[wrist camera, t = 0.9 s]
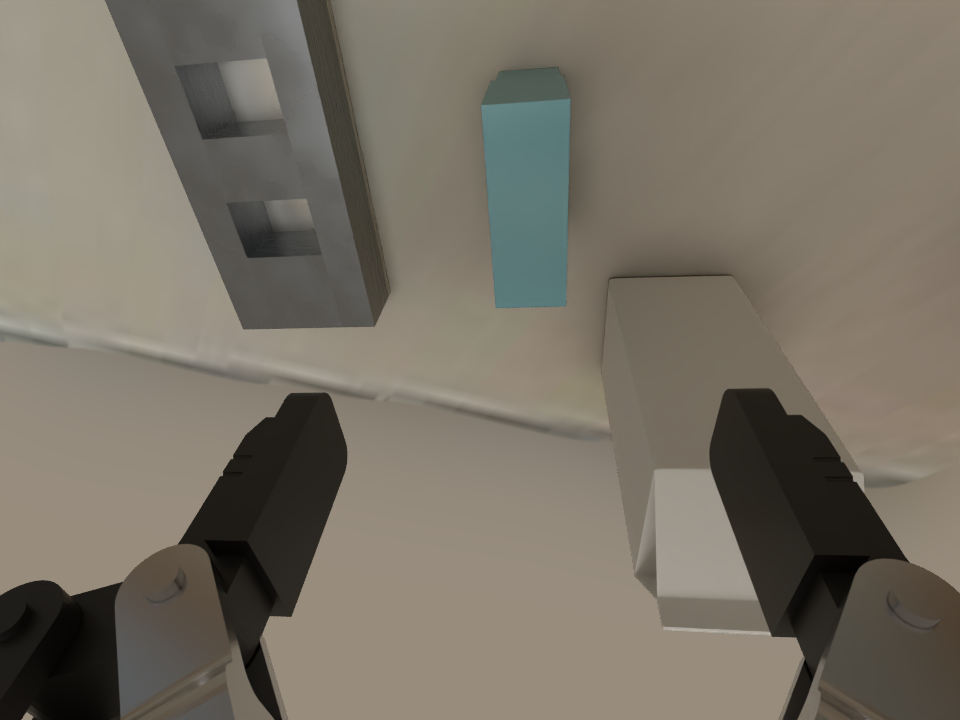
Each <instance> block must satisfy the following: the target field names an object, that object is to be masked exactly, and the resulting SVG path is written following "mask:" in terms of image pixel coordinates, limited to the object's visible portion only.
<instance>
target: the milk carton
mask: <svg viewBox="0 0 960 720" xmlns="http://www.w3.org/2000/svg"><path fill="white" fill-rule="evenodd" d="M601 374H602V380H603V386H604V392H605V398H606V404H607V410H608V416H609V422H610V428H611V435H612V441H613V446H614V453H615V459H616V464H617V471H618V477H619V483H620V489H621V495H622V501H623V507H624V513H625V519H626V525H627V532H628V538H629V544H630V550H631V556H632V562H633V568H634V575H635V577H636V578H637V579H638V580H639V581H640V582H641V583H642V584H643V585H644V586H645V588H646V589H647V590H648V591H649V592H650V593H651V594H652V595H653V596H654V597H655V598H656V599H657V603H658V609H659V614H660V619H661V623H662V628H663V629H665V630H676V631H678V630H679V631H697V632H716V633H736V634H737V633H738V634H756V635H757V634H758V635H771V633H770V631H769V628H768V625H767V622H766V620H765V617H764V614H763V612H762V609H761V606H760V603H759V601H758V598H757V595H756V592H755V590H754V587H753V584H752V582H751V579H750V576H749V573H748V571H747V568H746V565H745V563H744V560H743V557H742V554H741V552H740V549H739V546H738V544H737V541H736V538H735V535H734V533H733V530H732V527H731V524H730V522H729V519H728V516H727V514H726V511H725V508H724V505H723V503H722V500H721V497H720V495H719V492H718V489H717V486H716V484H715V481H714V478H713V475H712V472H711V467H710V459H709V449H710V442H711V438H712V435H713V431H714V427H715V423H716V419H717V415H718V412H719V408H720V404H721V400H722V396H723V394H724V392H725V391H726V390H727V389H739V388H769V389H771V390H772V391H773V392H774V393H775V394H776V396H777V398H778V399H779V401H780V403H781V404H782V406H783V408H784V409H785V411H786V413H787V415H802V416H804V417H805V418H806V419H807V420H809V421H810V422H811V423H812V424H814V425H815V426H816V427H817V428H819V429H820V430H821V431H822V432H824V433H825V434H826V435H827V437H828V438H829V440H830V441H831V443H832V445H833V446H834V448H835V449H836V451H837V452H838V454H839V455H840V457H841V462H844V463H845V465H846V466H847V468H848V469H849V471H850V472H851V474H852V475H853V481H854V482H857V483H858V485H859V486H860V488H861V489H862V491H863V492H864V475H863V473H862V472H861V471H860V469H859V468H858V466H857V465H856V463H855V462H854V460H853V459H852V457H851V456H850V454H849V452H848V451H847V449H846V448H845V446H844V445H843V443H842V442H841V440H840V439H839V437H838V436H837V434H836V433H835V431H834V430H833V428H832V426H831V425H830V423H829V422H828V420H827V419H826V417H825V416H824V414H823V413H822V411H821V410H820V408H819V407H818V405H817V404H816V402H815V401H814V399H813V397H812V396H811V394H810V393H809V391H808V390H807V388H806V387H805V385H804V384H803V382H802V381H801V379H800V378H799V376H798V375H797V373H796V371H795V370H794V368H793V367H792V365H791V364H790V362H789V361H788V359H787V358H786V356H785V355H784V353H783V352H782V350H781V349H780V347H779V345H778V344H777V342H776V341H775V339H774V338H773V336H772V335H771V333H770V332H769V330H768V329H767V327H766V326H765V324H764V323H763V321H762V319H761V318H760V316H759V315H758V313H757V312H756V310H755V309H754V307H753V306H752V304H751V303H750V301H749V300H748V298H747V297H746V295H745V293H744V292H743V290H742V289H741V287H740V286H739V284H738V283H737V281H736V280H735V278H734V277H732V276H689V277H649V278H615V279H610V280H609V286H608V298H607V310H606V322H605V334H604V346H603V358H602V370H601Z"/></svg>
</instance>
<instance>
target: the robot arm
mask: <svg viewBox="0 0 960 720" xmlns="http://www.w3.org/2000/svg"><path fill="white" fill-rule="evenodd" d="M233 457H234V458H233V459H231V460H230V461H229V463H228V465H227V466H226V468H225V469H224V471H223V476H220V477H219V479H218V481H217V482H216V484H215V486H214V487H213V489H212V491H211V492H210V494H209V495H208V497H207V499H206V500H205V502H204V503H203V505H202V507H201V509H200V510H199V512H198V513H197V515H196V517H195V518H194V520H193V521H192V523H191V525H190V526H189V528H188V529H187V531H186V533H185V534H184V536H183V537H182V539H181V541H180V542H179V543H178V545H174V546H171V547H167V548H165V549H163V550H160V551H158V552H156V553H155V554H153V555H151V556H150V557H148V558H147V559H145V560H144V561H142V562H141V563H140V564H139V565H138V566H137V567H135V569H133V571H132V572H131V573H130V574H129V575H128V576H127V577H126V579H125V580H124V582H121V583H117V584H114V585H110V586H106V587H103V588H99V589H96V590H92V591H88V592H84V593H81V594H77V595H74V596H69V595H68V594H67V593H66V592H65V591H64V590H63V589H62V588H61V587H60V586H59V585H58V584H56V583H54V582H51V581H44V580H42V581H34V582H29V583H26V584H23V585H20V586H18V587H15V588H13V589H11V590H9V591H7V592H6V593H4V594H2V595H0V720H21V719H22V718H23V716H24V714H25V713H26V712H28V713H29V714H30V715H32V716H33V719H32V720H288V717H287V714H286V710H285V707H284V703H283V700H282V697H281V693H280V690H279V686H278V683H277V680H276V676H275V673H274V669H273V666H272V663H271V659H270V656H269V653H268V649H267V646H266V642H265V639H264V637H263V635H262V633H263V630H264V628H265V626H266V623H267V621H268V618H269V616H286V617H291V616H292V614H293V611H294V608H295V605H296V603H297V600H298V597H299V595H300V592H301V589H302V587H303V584H304V581H305V578H306V575H307V573H308V570H309V568H310V565H311V562H312V560H313V557H314V554H315V552H316V549H317V546H318V543H319V541H320V538H321V535H322V533H323V530H324V527H325V525H326V522H327V519H328V516H329V514H330V511H331V508H332V506H333V502H334V500H335V497H336V495H337V492H338V489H339V487H340V484H341V481H342V479H343V476H344V473H345V469H346V465H347V446H346V442H345V439H344V436H343V432H342V429H341V427H340V423H339V420H338V417H337V414H336V412H335V409H334V405H333V402H332V399H331V397H330V396H329V394H327V393H291V394H289V395H288V396H287V397H286V399H285V400H284V402H283V404H282V405H281V407H280V409H279V411H278V412H277V414H276V416H275V417H269V418H268V417H266V418H265V419H264V420H262V421H261V422H260V423H259V424H258V425H257V426H255V427H254V428H253V429H252V430H251V431H250V432H249V433H247V434H246V435H245V437H244V439H243V440H242V442H241V443H240V445H239V447H238V448H237V450H236V452H235V453H234V455H233ZM709 459H710V467H711V472H712V475H713V478H714V481H715V484H716V486H717V489H718V492H719V495H720V497H721V500H722V503H723V505H724V508H725V511H726V514H727V516H728V519H729V522H730V524H731V527H732V530H733V533H734V535H735V538H736V541H737V544H738V546H739V549H740V552H741V554H742V557H743V560H744V563H745V565H746V568H747V571H748V573H749V576H750V579H751V582H752V584H753V587H754V590H755V592H756V595H757V598H758V601H759V603H760V606H761V609H762V612H763V614H764V617H765V620H766V622H767V625H768V628H769V631H770V633H771V636H772V637H796V638H797V640H798V642H799V645H800V647H801V650H802V652H803V655H804V656H803V658H802V660H801V662H800V664H799V667H798V669H797V672H796V674H795V677H794V680H793V682H792V685H791V688H790V690H789V693H788V696H787V698H786V701H785V704H784V706H783V709H782V712H781V714H780V717H779V720H960V593H959V592H958V591H957V590H956V589H955V588H954V587H952V586H951V585H950V584H949V583H947V582H946V581H945V580H943V579H942V578H940V577H939V576H937V575H935V574H934V573H932V572H930V571H928V570H926V569H924V568H922V567H920V566H917V565H915V564H912V563H910V562H909V561H908V560H907V558H906V557H905V556H904V554H903V553H902V551H901V550H900V548H899V547H898V545H897V544H896V542H895V540H894V539H893V537H892V536H891V534H890V533H889V531H888V530H887V528H886V526H885V525H884V523H883V522H882V520H881V519H880V517H879V516H878V514H877V513H876V511H875V509H874V508H873V507H872V505H871V503H870V502H869V500H868V499H867V497H866V496H865V494H864V492H863V491H862V489H861V488H860V486H859V485H858V483H857V482H854V481H853V475H852V474H851V472H850V471H849V469H848V468H847V466H846V465H845V463H844V462H841V457H840V455H839V454H838V452H837V451H836V449H835V448H834V446H833V445H832V443H831V441H830V440H829V438H828V437H827V435H826V434H825V433H824V432H822V431H821V430H820V429H819V428H817V427H816V426H815V425H814V424H812V423H811V422H810V421H809V420H807V419H806V418H805V417H804V416H802V415H787V413H786V411H785V409H784V408H783V406H782V404H781V403H780V401H779V399H778V398H777V396H776V394H775V393H774V392H773V391H772V390H771V389H769V388H739V389H727V390H726V391H725V392H724V394H723V396H722V400H721V404H720V408H719V412H718V415H717V419H716V423H715V427H714V431H713V435H712V438H711V442H710V449H709Z"/></svg>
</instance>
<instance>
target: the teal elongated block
mask: <svg viewBox="0 0 960 720" xmlns="http://www.w3.org/2000/svg"><path fill="white" fill-rule="evenodd" d="M481 111H482V125H483V139H484V153H485V166H486V180H487V194H488V208H489V222H490V236H491V249H492V263H493V277H494V291H495V305H496V308H519V307H559V306H566V286H567V240H568V193H569V146H570V95H569V92H568V88H567V85H566V81H565V77H564V75H563V76H560V73H559V69H558V67H553V68H541V69H528V70H515V71H503V72H499V74H498V76H497V79H496V81H491V83H490V85H489V88H488V90H487V92H486V95H485V97H484V100H483V102H482V104H481Z"/></svg>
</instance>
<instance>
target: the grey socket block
mask: <svg viewBox="0 0 960 720" xmlns="http://www.w3.org/2000/svg"><path fill="white" fill-rule="evenodd" d="M105 1H106V4H107V6H108V9H109V11H110V13H111V16H112V18H113V20H114V23H115V25H116V28H117V30H118V32H119V35H120V37H121V39H122V42H123V44H124V47H125V49H126V51H127V54H128V56H129V58H130V61H131V63H132V66H133V68H134V70H135V73H136V75H137V77H138V80H139V82H140V85H141V87H142V89H143V92H144V94H145V96H146V99H147V101H148V104H149V106H150V108H151V111H152V113H153V116H154V118H155V120H156V123H157V125H158V127H159V130H160V132H161V135H162V137H163V139H164V142H165V144H166V146H167V149H168V151H169V154H170V156H171V158H172V161H173V163H174V165H175V168H176V170H177V173H178V175H179V177H180V180H181V182H182V184H183V187H184V189H185V192H186V194H187V196H188V199H189V201H190V203H191V206H192V208H193V211H194V213H195V215H196V218H197V220H198V223H199V225H200V227H201V230H202V232H203V234H204V237H205V239H206V242H207V244H208V246H209V249H210V251H211V253H212V256H213V258H214V261H215V263H216V265H217V268H218V270H219V272H220V275H221V277H222V280H223V282H224V284H225V287H226V289H227V291H228V294H229V296H230V299H231V301H232V303H233V306H234V308H235V310H236V313H237V315H238V318H239V320H240V322H241V325H242V327H243V329H283V328H329V327H375V325H376V323H377V321H378V318H379V316H380V314H381V312H382V310H383V307H384V305H385V303H386V301H387V299H388V296H389V294H390V287H389V282H388V278H387V273H386V268H385V263H384V258H383V254H382V249H381V244H380V239H379V234H378V230H377V225H376V220H375V215H374V210H373V206H372V201H371V196H370V191H369V186H368V182H367V177H366V172H365V167H364V162H363V158H362V153H361V148H360V143H359V138H358V134H357V129H356V124H355V119H354V114H353V110H352V105H351V100H350V95H349V90H348V86H347V81H346V76H345V71H344V66H343V62H342V57H341V52H340V47H339V42H338V38H337V33H336V28H335V23H334V18H333V13H332V9H331V4H330V0H105Z"/></svg>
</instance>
